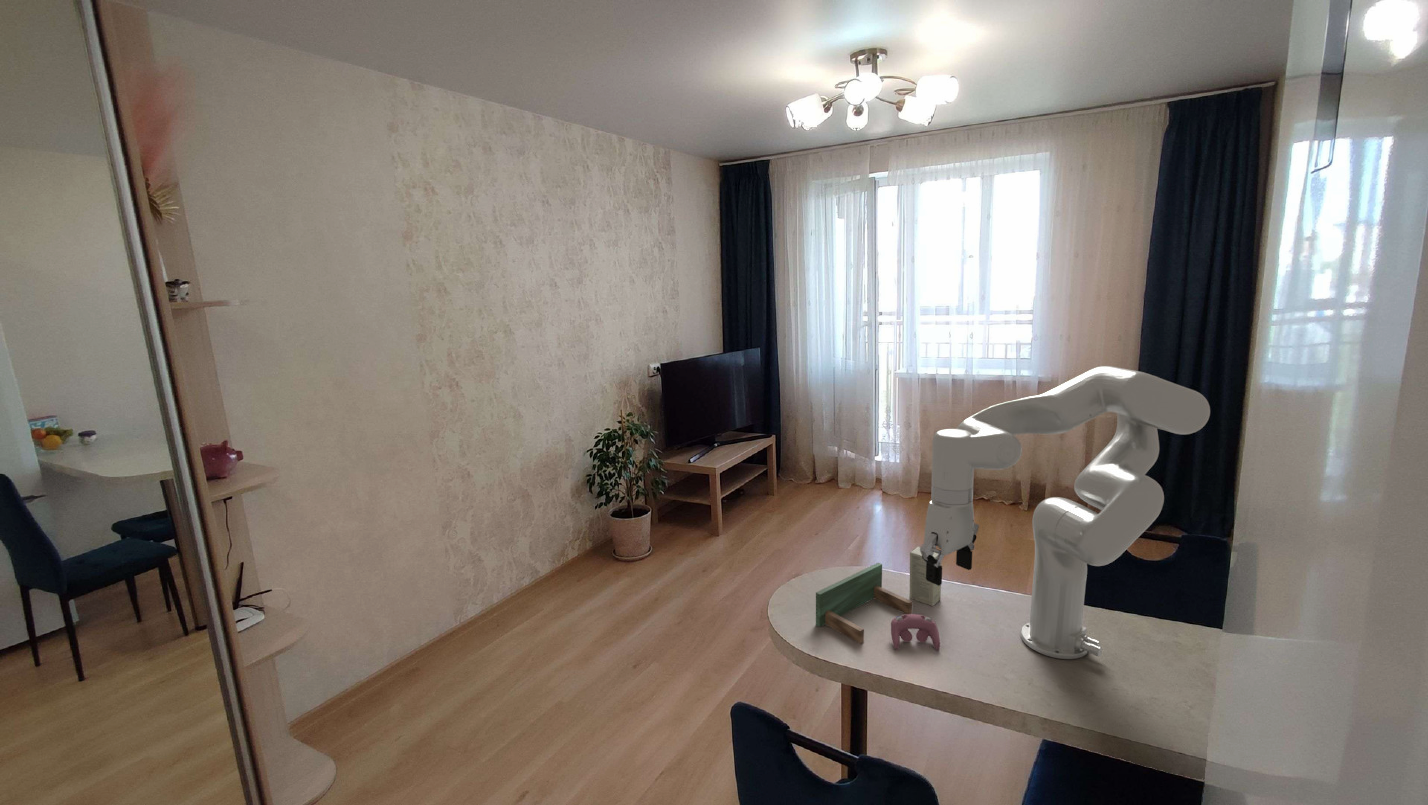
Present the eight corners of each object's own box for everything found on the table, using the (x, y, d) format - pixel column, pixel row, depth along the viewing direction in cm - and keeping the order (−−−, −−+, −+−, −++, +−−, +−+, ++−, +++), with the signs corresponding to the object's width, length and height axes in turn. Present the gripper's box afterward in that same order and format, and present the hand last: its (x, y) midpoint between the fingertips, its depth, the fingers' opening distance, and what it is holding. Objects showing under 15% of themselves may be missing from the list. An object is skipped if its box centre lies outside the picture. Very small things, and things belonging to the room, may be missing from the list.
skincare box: (941, 599, 151) (943, 552, 148) (932, 607, 148) (934, 559, 145) (916, 591, 155) (918, 545, 153) (907, 597, 152) (909, 551, 150)
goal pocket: (916, 610, 146) (917, 579, 145) (854, 646, 133) (855, 612, 132) (877, 592, 155) (878, 562, 153) (815, 624, 142) (815, 592, 140)
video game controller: (937, 648, 135) (934, 614, 136) (942, 651, 130) (939, 615, 132) (890, 647, 136) (888, 613, 137) (893, 649, 131) (891, 614, 133)
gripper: (961, 478, 129) (958, 555, 132) (906, 499, 119) (905, 581, 123) (995, 487, 123) (991, 568, 126) (941, 510, 113) (938, 596, 117)
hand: (949, 574), depth 124 cm, fingers open, 9 cm apart
